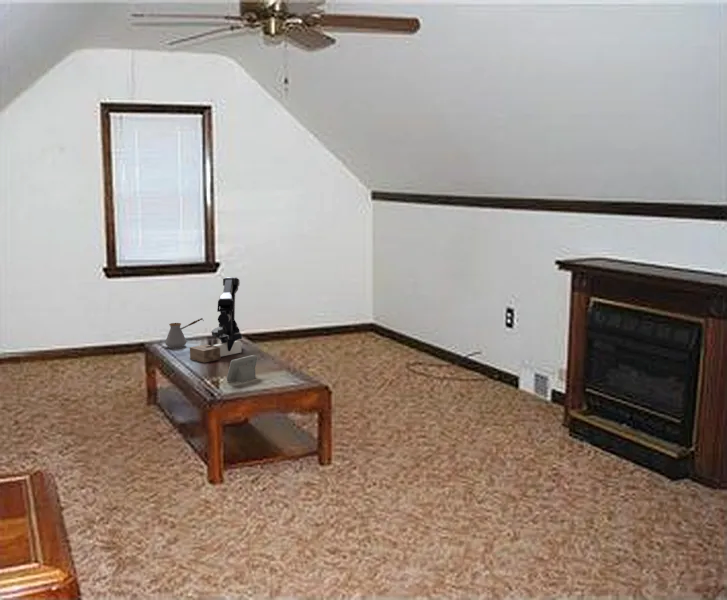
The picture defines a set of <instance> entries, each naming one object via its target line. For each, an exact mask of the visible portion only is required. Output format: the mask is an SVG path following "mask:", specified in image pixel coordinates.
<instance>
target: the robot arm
mask: <svg viewBox="0 0 727 600" xmlns="http://www.w3.org/2000/svg"><path fill="white" fill-rule="evenodd" d="M240 283H241V282H240V279H239V278H238V277H235V276H234V277H233V276H228V277H224V278H222V286H224V287H223V292H222V294H221V295H219V299H218V300H217V308H216V309H217V312H219V316H218V317H217V321H218V327H215V328H213V329H212V330H211V332H210V333H211V336H212V337H213V338H216V339H218V340H219V341H220V342H221V343H226V342H227V346H228V351H230V350H231V348H232V346H233V344H234V342H235V341H237V340H241V339H243V334H242V333H241V331H240V328H239V326H238V323H237V322H236V320H235V316H236V315H235V314H236V310H235V309H236V293H237V292H238V291H239V287H240Z"/></svg>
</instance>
